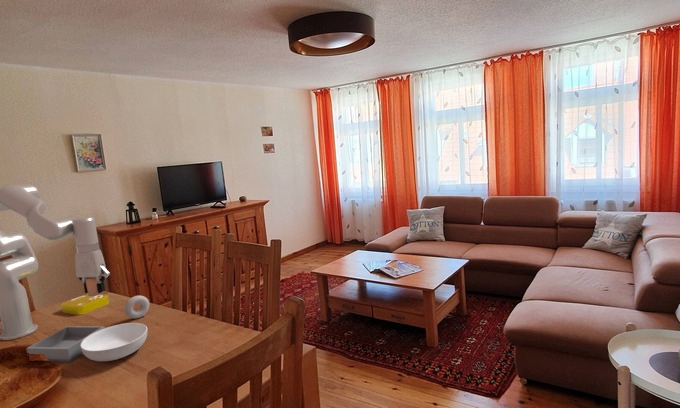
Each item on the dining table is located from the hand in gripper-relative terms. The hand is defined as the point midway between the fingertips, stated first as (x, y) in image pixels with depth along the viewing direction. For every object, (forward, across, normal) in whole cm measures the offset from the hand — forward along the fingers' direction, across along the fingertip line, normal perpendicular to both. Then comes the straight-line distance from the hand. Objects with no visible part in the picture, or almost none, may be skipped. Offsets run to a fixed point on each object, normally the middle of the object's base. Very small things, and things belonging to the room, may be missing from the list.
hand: (95, 291), depth 156 cm
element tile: (+18, -30, +25) cm, 43 cm away
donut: (+17, +7, +13) cm, 23 cm away
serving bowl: (+17, +20, -16) cm, 31 cm away
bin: (+17, -2, -14) cm, 22 cm away
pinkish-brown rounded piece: (+1, 0, 0) cm, 1 cm away
